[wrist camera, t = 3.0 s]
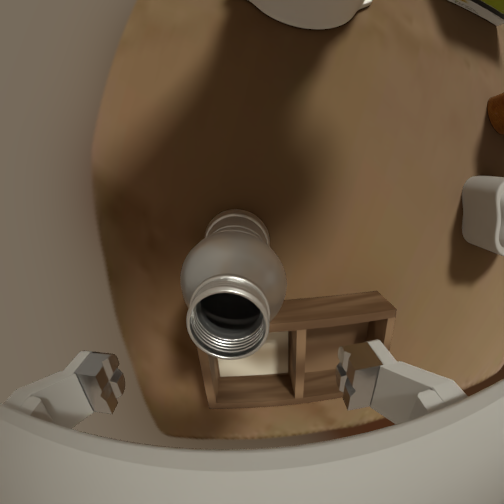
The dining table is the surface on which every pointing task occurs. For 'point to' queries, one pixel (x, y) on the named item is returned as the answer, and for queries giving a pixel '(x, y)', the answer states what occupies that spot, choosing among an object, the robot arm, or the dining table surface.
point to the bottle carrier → (298, 352)
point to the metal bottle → (232, 286)
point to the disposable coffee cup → (497, 112)
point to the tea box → (485, 9)
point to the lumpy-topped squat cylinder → (484, 212)
